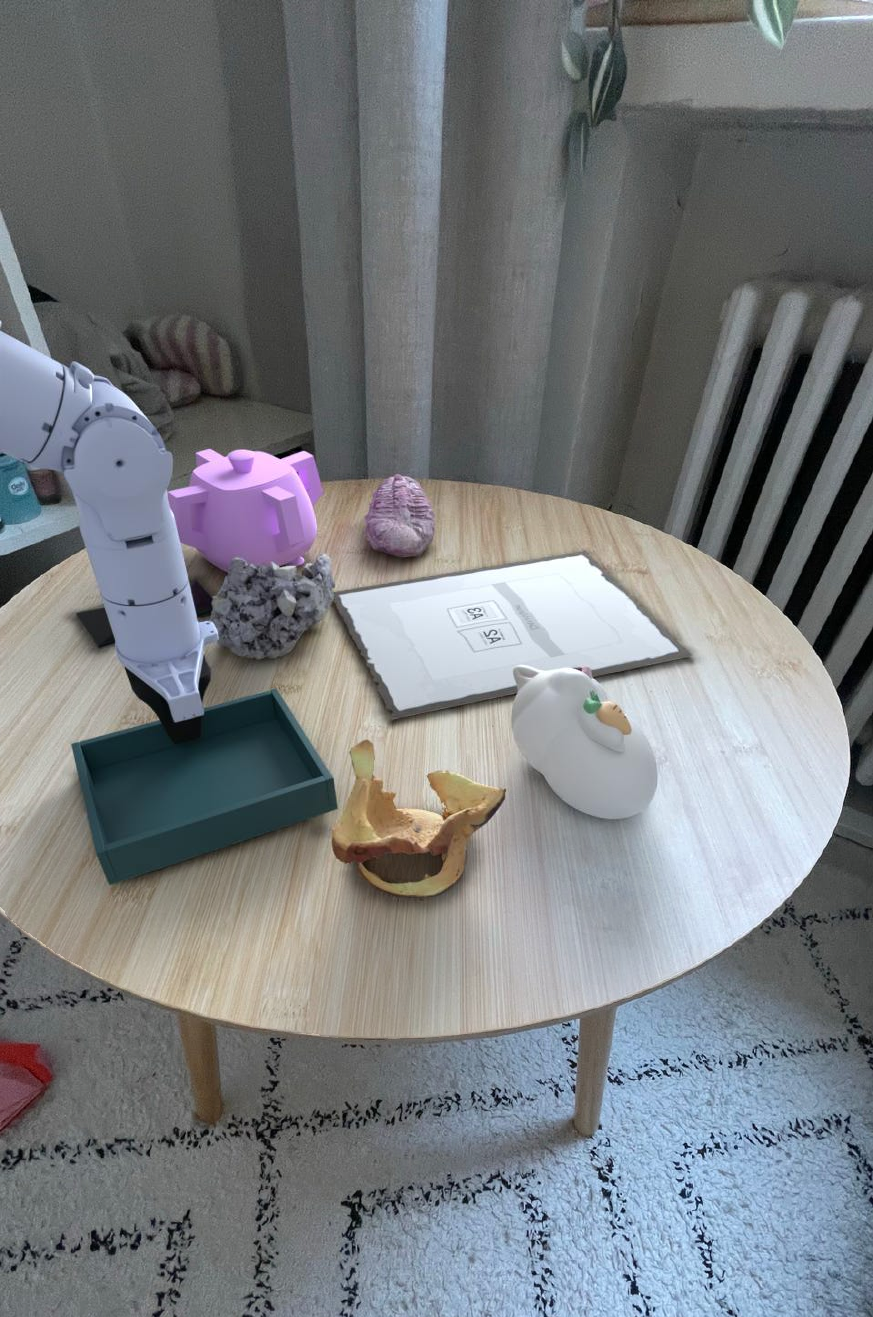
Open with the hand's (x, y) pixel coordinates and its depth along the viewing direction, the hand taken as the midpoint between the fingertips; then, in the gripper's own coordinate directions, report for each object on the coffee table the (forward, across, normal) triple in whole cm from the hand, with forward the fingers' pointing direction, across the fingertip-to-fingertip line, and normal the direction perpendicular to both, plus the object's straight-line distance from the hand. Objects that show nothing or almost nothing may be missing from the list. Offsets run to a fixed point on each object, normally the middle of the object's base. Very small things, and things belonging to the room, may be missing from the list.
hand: (186, 737), depth 61 cm
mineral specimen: (+2, +13, -11) cm, 17 cm away
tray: (+1, -5, 0) cm, 6 cm away
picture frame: (+2, +6, -32) cm, 33 cm away
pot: (+2, +29, -14) cm, 32 cm away
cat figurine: (+2, -15, -26) cm, 31 cm away
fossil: (+2, +28, -31) cm, 42 cm away
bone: (+2, -17, -12) cm, 21 cm away
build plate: (+2, +22, -1) cm, 23 cm away
